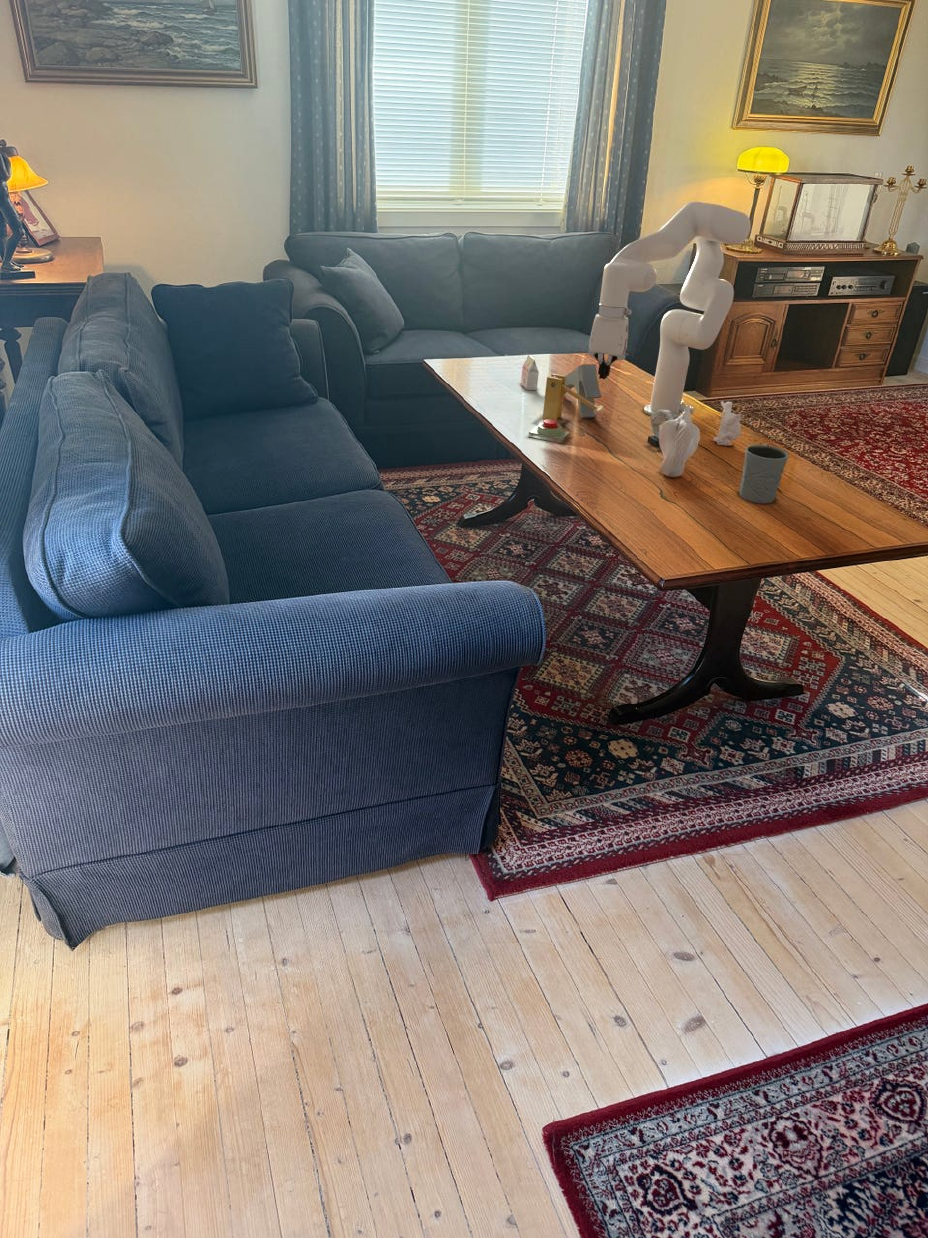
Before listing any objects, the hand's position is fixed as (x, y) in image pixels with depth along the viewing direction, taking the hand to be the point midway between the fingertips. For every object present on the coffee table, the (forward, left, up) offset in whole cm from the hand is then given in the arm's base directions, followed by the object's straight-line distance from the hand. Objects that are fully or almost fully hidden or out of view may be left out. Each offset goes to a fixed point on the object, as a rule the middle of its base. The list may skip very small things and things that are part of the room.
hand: (603, 377), depth 241 cm
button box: (+10, +14, -16) cm, 23 cm away
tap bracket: (+14, 0, -16) cm, 21 cm away
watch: (-20, +5, -16) cm, 26 cm away
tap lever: (+8, 0, -8) cm, 11 cm away
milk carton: (+33, -31, -16) cm, 48 cm away
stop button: (+10, +14, -13) cm, 21 cm away
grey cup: (-50, +27, -16) cm, 59 cm away
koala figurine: (-36, -10, -16) cm, 41 cm away
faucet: (+13, -16, -16) cm, 26 cm away
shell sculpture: (-28, +24, -16) cm, 40 cm away
